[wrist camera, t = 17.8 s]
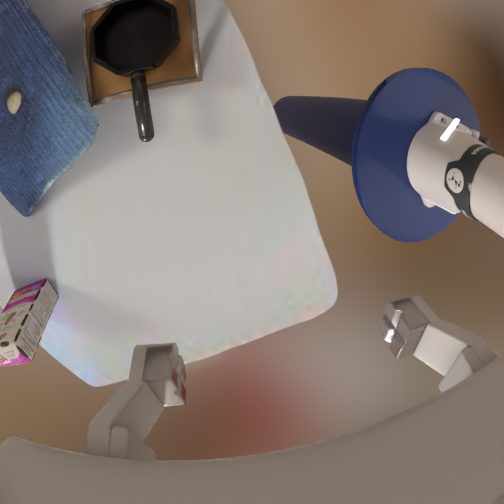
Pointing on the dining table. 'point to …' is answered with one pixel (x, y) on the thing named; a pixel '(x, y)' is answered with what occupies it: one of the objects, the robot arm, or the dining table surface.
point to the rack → (168, 74)
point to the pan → (136, 47)
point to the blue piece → (36, 109)
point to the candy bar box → (25, 322)
